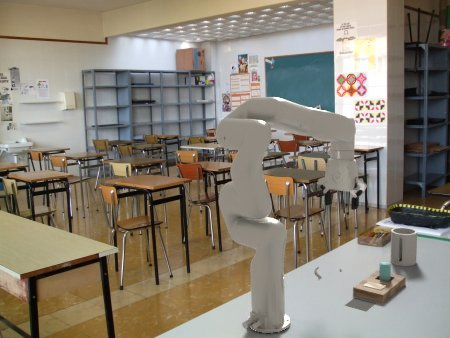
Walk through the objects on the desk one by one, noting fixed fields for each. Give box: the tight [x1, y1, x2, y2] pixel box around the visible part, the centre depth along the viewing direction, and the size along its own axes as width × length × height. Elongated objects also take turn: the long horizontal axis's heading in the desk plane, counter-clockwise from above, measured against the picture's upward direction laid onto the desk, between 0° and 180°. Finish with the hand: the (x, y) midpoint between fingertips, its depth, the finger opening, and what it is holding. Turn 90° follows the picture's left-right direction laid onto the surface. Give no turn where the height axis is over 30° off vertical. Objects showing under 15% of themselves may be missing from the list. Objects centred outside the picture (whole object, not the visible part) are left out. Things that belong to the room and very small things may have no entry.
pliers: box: [314, 266, 342, 281], centre depth 177 cm, size 10×1×20 cm
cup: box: [390, 227, 418, 267], centre depth 189 cm, size 9×9×12 cm
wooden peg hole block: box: [352, 270, 407, 303], centre depth 165 cm, size 18×10×3 cm, turn 139°
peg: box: [378, 261, 392, 282], centre depth 167 cm, size 4×4×8 cm
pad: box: [344, 296, 377, 312], centre depth 155 cm, size 7×7×1 cm
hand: (341, 206), depth 165 cm, fingers open, 9 cm apart
